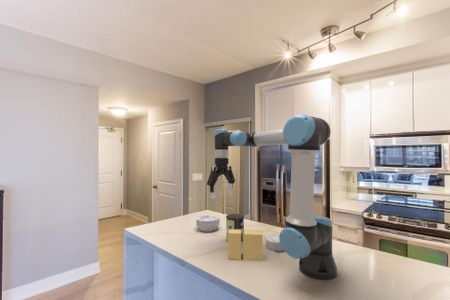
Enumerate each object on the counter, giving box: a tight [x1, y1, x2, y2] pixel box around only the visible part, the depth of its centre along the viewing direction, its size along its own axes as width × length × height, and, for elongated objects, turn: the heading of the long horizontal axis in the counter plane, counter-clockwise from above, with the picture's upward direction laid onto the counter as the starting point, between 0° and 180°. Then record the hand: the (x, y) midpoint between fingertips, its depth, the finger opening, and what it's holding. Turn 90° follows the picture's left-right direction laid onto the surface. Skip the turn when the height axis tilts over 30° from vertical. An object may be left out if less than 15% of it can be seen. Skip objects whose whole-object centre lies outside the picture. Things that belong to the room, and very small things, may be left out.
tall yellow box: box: [242, 229, 264, 261], centre depth 110 cm, size 9×6×12 cm, turn 86°
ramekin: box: [264, 234, 285, 253], centre depth 123 cm, size 11×11×5 cm
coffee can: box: [225, 213, 245, 243], centre depth 133 cm, size 10×10×14 cm
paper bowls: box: [195, 214, 220, 233], centre depth 153 cm, size 15×15×8 cm
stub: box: [227, 229, 242, 260], centre depth 111 cm, size 6×6×12 cm
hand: (221, 196), depth 125 cm, fingers open, 13 cm apart
